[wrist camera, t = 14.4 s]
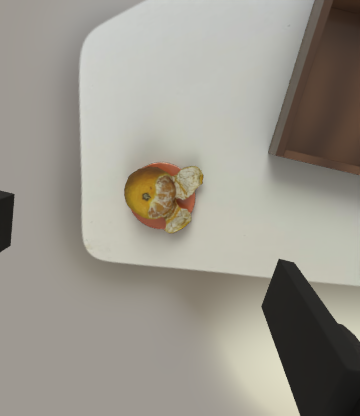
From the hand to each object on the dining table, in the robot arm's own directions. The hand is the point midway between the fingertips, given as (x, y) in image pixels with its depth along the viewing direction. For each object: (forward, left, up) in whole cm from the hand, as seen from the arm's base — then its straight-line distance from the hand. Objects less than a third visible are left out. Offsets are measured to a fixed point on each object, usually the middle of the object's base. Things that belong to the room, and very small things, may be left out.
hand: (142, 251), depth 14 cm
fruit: (0, -2, -20) cm, 21 cm away
